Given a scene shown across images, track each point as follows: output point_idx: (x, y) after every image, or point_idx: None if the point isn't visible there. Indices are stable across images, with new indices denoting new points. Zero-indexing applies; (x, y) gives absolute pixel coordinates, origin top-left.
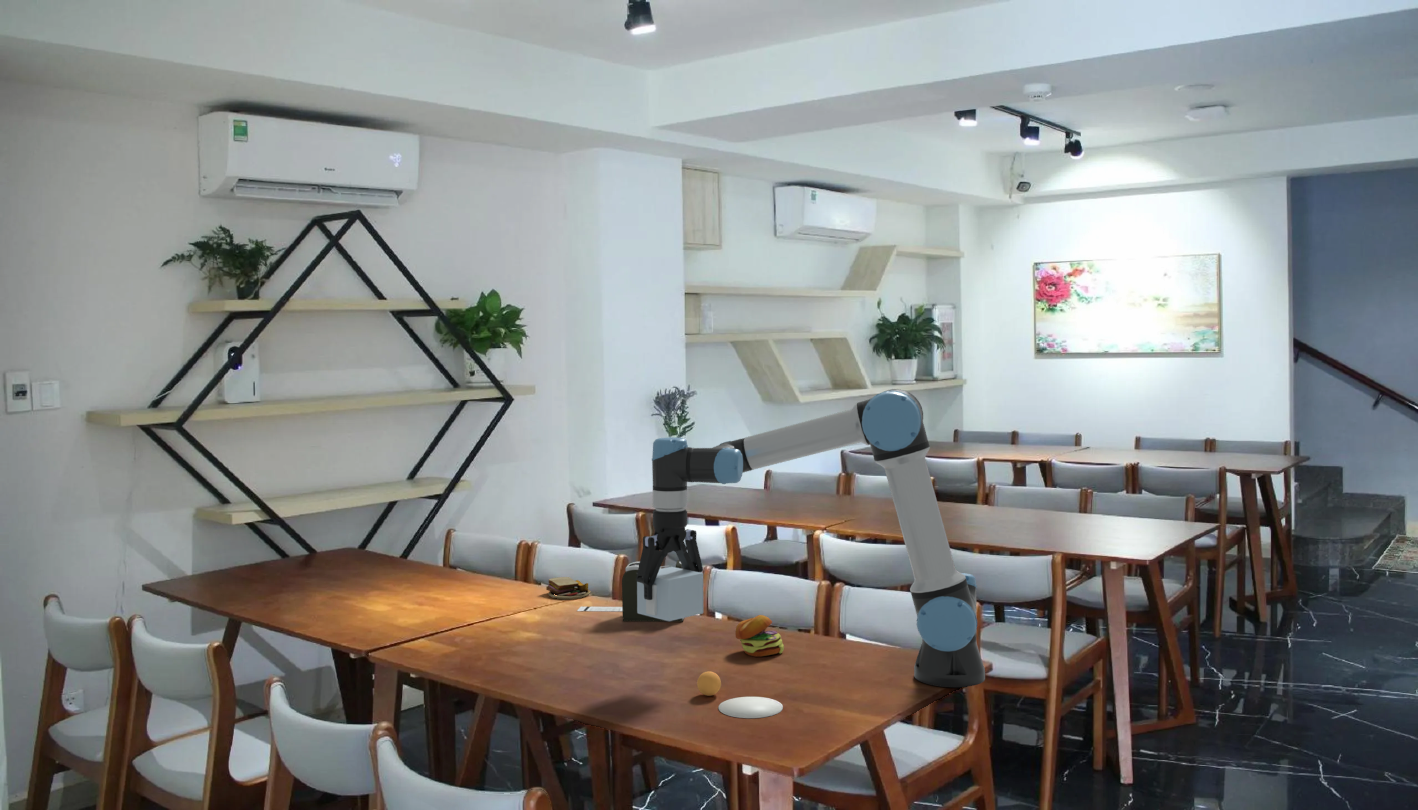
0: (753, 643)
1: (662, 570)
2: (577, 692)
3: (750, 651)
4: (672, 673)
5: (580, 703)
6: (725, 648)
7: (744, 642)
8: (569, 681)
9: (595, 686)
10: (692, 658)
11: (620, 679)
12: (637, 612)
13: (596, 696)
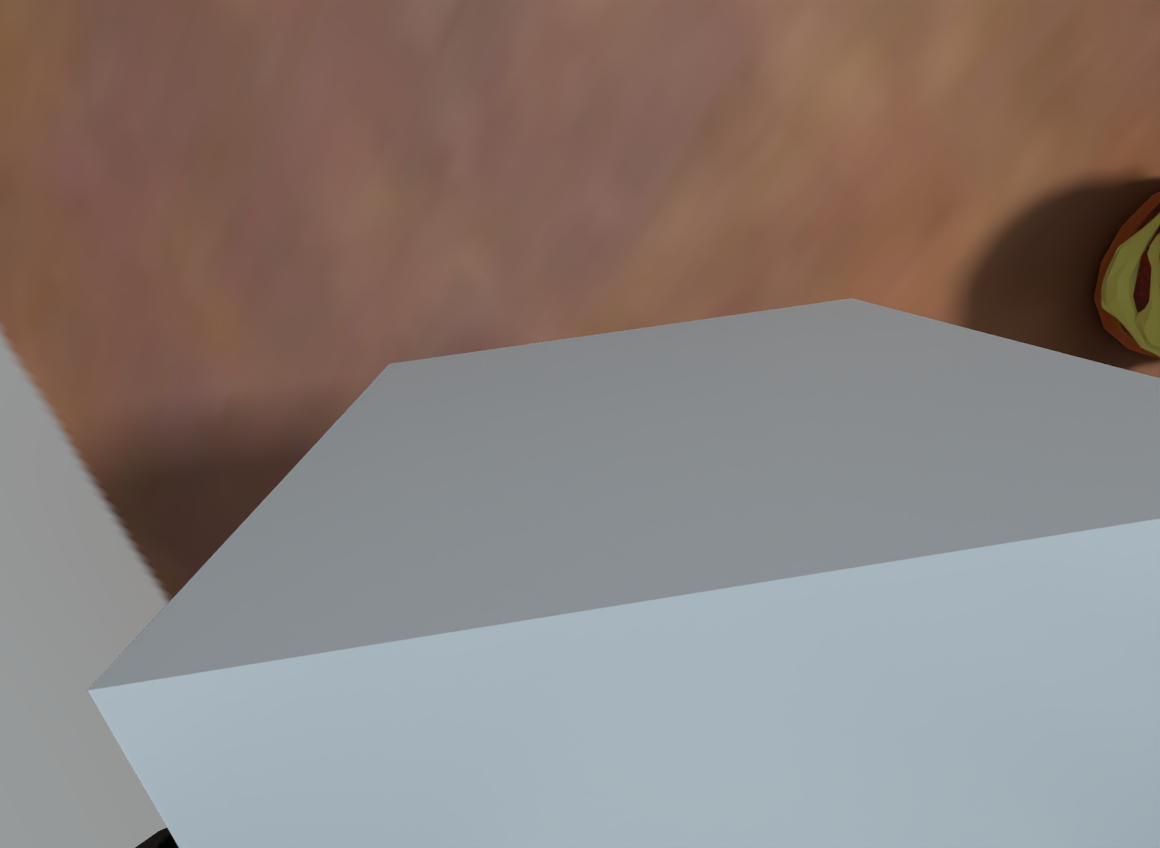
0: (1147, 317)
1: (910, 728)
2: (139, 232)
3: (1103, 297)
4: (666, 272)
5: (104, 384)
6: (1148, 73)
7: (1150, 259)
8: (157, 15)
9: (257, 204)
10: (905, 114)
11: (416, 185)
12: (389, 366)
13: (205, 344)
